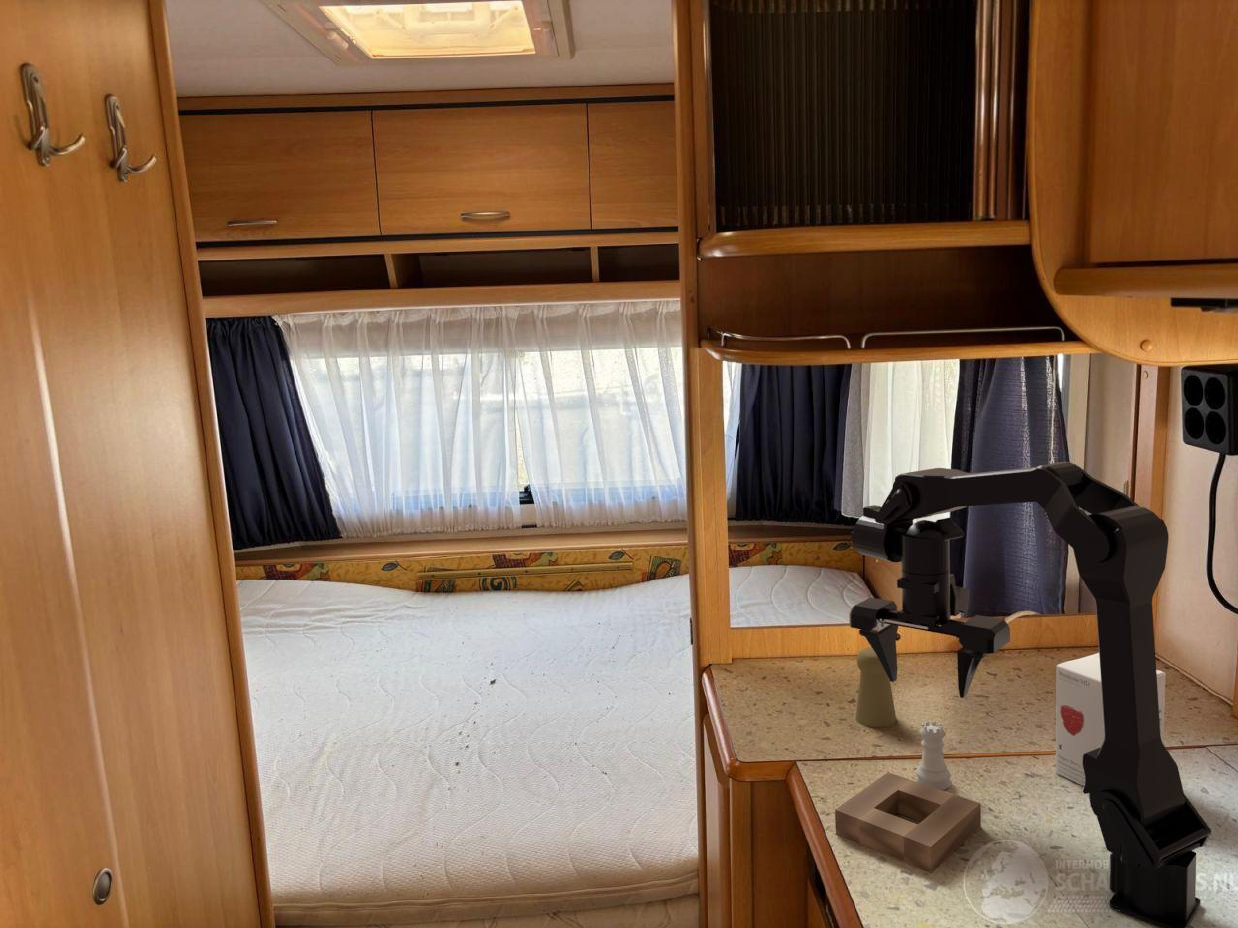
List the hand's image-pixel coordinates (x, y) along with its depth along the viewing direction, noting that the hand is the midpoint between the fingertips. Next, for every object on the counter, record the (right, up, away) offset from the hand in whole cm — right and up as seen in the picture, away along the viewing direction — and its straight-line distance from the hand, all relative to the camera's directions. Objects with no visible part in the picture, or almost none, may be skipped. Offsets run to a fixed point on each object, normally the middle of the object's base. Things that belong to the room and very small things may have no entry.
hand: (927, 688), depth 112 cm
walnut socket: (-5, -15, -8) cm, 17 cm away
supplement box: (+23, -12, +1) cm, 26 cm away
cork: (0, -11, +23) cm, 25 cm away
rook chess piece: (+2, -13, +2) cm, 13 cm away
